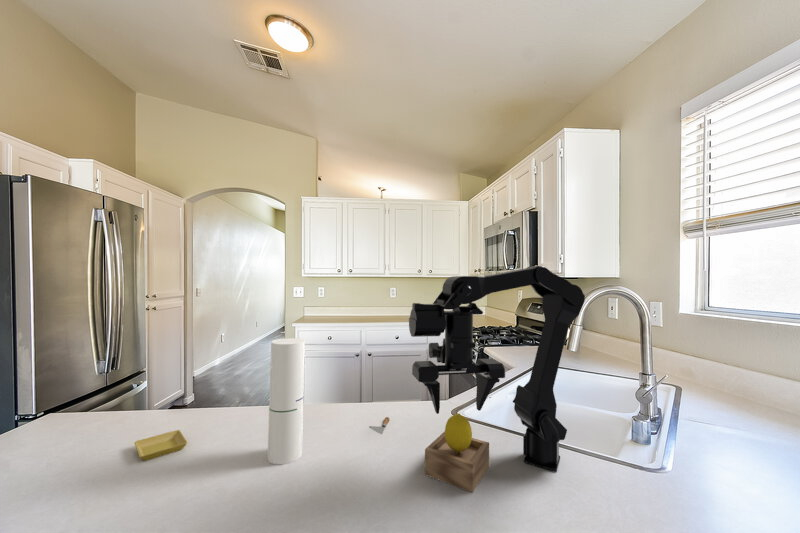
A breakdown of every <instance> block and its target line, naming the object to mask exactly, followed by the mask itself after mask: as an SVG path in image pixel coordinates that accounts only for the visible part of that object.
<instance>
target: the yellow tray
mask: <svg viewBox="0 0 800 533" xmlns="http://www.w3.org/2000/svg"><path fill="white" fill-rule="evenodd" d="M187 444H188V441H187V439H186V437H185V436H184V435H183V433H182V432H181V430H180V429H176V430H173V431H168V432H164V433H161V434H158V435H154V436H150V437H147V438H143V439H139V440H136V441H134V445H135V447H136V451H137V454H138V456H139V458H140V460H142V461H144V462H148V461H149V460H152V459H153V460H154V459H156V458H159V457H163V456H167V455H169V454H174V453H176V452H179V451H182V449H184V448H185V447H186V446H187Z"/></svg>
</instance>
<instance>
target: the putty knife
mask: <svg viewBox="0 0 800 533" xmlns="http://www.w3.org/2000/svg"><path fill="white" fill-rule="evenodd" d="M389 422H390V417H389V416H386V417H384V421H383V424H382V426H377V425H373V426H372V425H369V426H368V428H369V429H372V430H373V432H376V433H378V434H379V435H383V434H384V431H385V430H386V426H387V425H388V423H389Z"/></svg>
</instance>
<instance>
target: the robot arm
mask: <svg viewBox="0 0 800 533" xmlns="http://www.w3.org/2000/svg"><path fill="white" fill-rule="evenodd" d="M529 286H530V287H531V288H532V290H533V291H534V292H535V294H537V295H538V296H539V297H541V298H542V301H541V307H542V313H543V315H544V316H543V317H544V322H543V326H542V330H541V335H540V338H539V344H538V346H537V350H536V354H535V358H534V362H533V366H532V369H531V373H530V377H529V380H528V381H527V382H526V384H524V386H521V385H520V384H519V385H517V386H516V389H515V390H516V392H515V396H514V399H513V400H512V403H514V407H513V409H514V412H515V414H516V416H517V417H518V418H519V419H520V422H521V424H522V425H523V426H525V427H526V430H525V432H524V435H523V436H522V437H523V439H522V441H523V446H522V447H523V450H522V451H523V456H524V458H523V462H524V463H527V464H530V465H533V466H536V467H540V468H544V469H546V470H550V471H553V472H557V471H558V469H559V466H560V465H559V464H560V461H561V456H560V451H559V450H560V447H559V446H560V441H564V440H565V439H566V437H567V436H566V435H567V433H568V432H567V431H568V429H567V428H566V427H565V426H564V425H563V423H561V422H560V421H559V419H558V418H556V417H557V407H558V404H557V401H556V398H555V393H554V386H555V382H556V380H557V379H556V378H557V375H558V370H559V365H560V364H561V363H560V362H561V358H562V354H563V350H564V346H565V344H566V338H567V334H568V329H569V327H570V325H571V324H572V323H573V322H574V321H575V320H576V319H577V318H578V317H579V316H580V313H581V311H582V308H583V306H584V304H585V299H586V296H585V293H584V291H583V290H582V288H581V287H580V286H579V285H577V284H573V283H571V281H569V280H568V279H565V278H563V277H561V276H559V275H557V274H555V273H554V272H552V271H551V270H549V269H548V268H547V267H546V266H543V265H533V266H527V267H525V268H521V269H515V270H511V271H509V270H508V271H503V272H499V273H493V274H487V275H478V276H477V275H476V276H475V275H472V276H471V275H462V276H461V275H459V276H457V275H454V276H449V277H448V278H446V279H445V280H444V282H443V284H442V287H441V288H442V290H441V291H440V293H439V294H438V295H437V297H436V299H435V300H434V301H433V302H432V303H420V302H413V303H412V305H411V310H410V315H409V317H408V328H409V334H410V336H411V337H414V338H415V337H417V338H418V337H421V338H423V337H424V338H425V337H440V336H441V334H443V333H445V334H444V338H443V339H442V345H440V344H439V342H430V343H428V357H429V359H434V358H435V359H436V363H439V364H440V363H441V365H439V364H438V365H436V364H435V363H434V362H432V361H431V360H417V361H415V362H414V363H413V364H412V366H411V367H412V371H411V375H412V376H413V377H414V378H415V379H416V380H417V381H418V383H422V384H423V385H424V386H425V387H426V388H427V390H428V392H429V395H430V399H431V401H432V405H433V409H434V412H435V414H440V406H441V397H440V396H441V383H440V382H439V381H438V379H439V378H440V377H439V376H446V375H447V376H449V375H466V374H467V375H469V374H474V375H475V379H476V393H475V394H476V396H475V401H476V402H475V403H476V405H475V406H476V410H477V411H479V412H480V411H481V410H482V409H483V407H484V404H485V402H486V401H487V400H486V399H488V396H489V394H490V393H491V391H492V389H493V388H494V387H495V385H496V383H500V379H505V378H506V367H505V365H504V364H503V363H502V362H500V361H498V360H496V359H493V358H478V359H477V360H476V362H474V360H473V358H474V357H473V356H474V355H473V354H474V350H473V349H476V342H474V341H473V338H474V337H473V334H474V331H473V330H474V315H479V316H480V315H483V314H484V312H483V310H482V309H480V307H479V306H477V303H475V302H476V301H479V300H481V299H484V297H486V296H488V295H490V294H493V293H498V292H503V291H509V290H513V289H518V288H523V287H529ZM442 364H443V365H442Z"/></svg>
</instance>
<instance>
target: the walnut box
mask: <svg viewBox="0 0 800 533" xmlns="http://www.w3.org/2000/svg"><path fill="white" fill-rule="evenodd" d="M489 468H490V442H488V441H485V440H481V439H478V438H473V437H472V440H471V444H470V446H469V447H468V448H467V449H466V450H465V451H462V452H460V453H456V452H455V451H454V450H452V449H451V448H450V447H449V446H448V444H447V442H446V439H445V430H444V431H443V432H442V433H441V434H440V435H439V436H438V437H437V438H436V439H435V440H433V441H432V442H431V443H430V444H429V445H428V446H426V448H425V449H424V475H425V476H427V475H428V476H427V477H430V476H431V477H430V478H433V477H434V478H433V479H435V478H436V480H438V479H439V480H438V481H440V482H441V481H442V482H443V481H444V483H446V484H448V483H449V484H448V485H451V486H454V487H455V488H456V487H457V488H460V489H462V490H464V491H468V492H470V493H474V491H475V490H476V488H477V487H478V485H479V483H480V482H481V480H482V479H483V477H484V476H485V474H486V473H487V471H488V469H489Z"/></svg>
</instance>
